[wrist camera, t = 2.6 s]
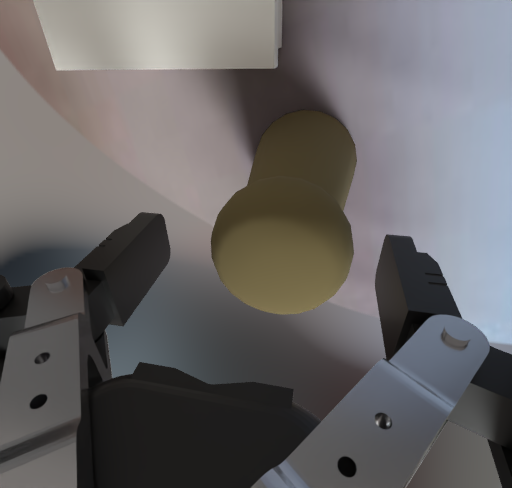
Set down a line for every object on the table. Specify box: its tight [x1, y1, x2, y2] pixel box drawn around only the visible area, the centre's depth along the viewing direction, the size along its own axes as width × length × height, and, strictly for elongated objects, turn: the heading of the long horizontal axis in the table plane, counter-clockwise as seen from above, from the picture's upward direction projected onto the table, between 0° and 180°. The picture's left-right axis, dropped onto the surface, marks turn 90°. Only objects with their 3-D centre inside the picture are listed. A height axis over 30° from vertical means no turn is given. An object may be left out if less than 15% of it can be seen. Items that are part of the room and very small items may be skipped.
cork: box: [211, 110, 357, 314], centre depth 15 cm, size 6×6×11 cm
